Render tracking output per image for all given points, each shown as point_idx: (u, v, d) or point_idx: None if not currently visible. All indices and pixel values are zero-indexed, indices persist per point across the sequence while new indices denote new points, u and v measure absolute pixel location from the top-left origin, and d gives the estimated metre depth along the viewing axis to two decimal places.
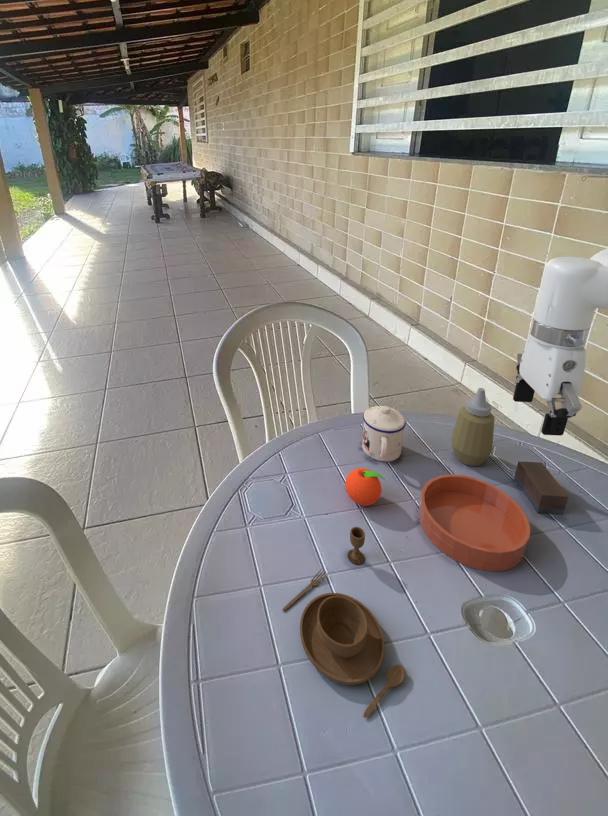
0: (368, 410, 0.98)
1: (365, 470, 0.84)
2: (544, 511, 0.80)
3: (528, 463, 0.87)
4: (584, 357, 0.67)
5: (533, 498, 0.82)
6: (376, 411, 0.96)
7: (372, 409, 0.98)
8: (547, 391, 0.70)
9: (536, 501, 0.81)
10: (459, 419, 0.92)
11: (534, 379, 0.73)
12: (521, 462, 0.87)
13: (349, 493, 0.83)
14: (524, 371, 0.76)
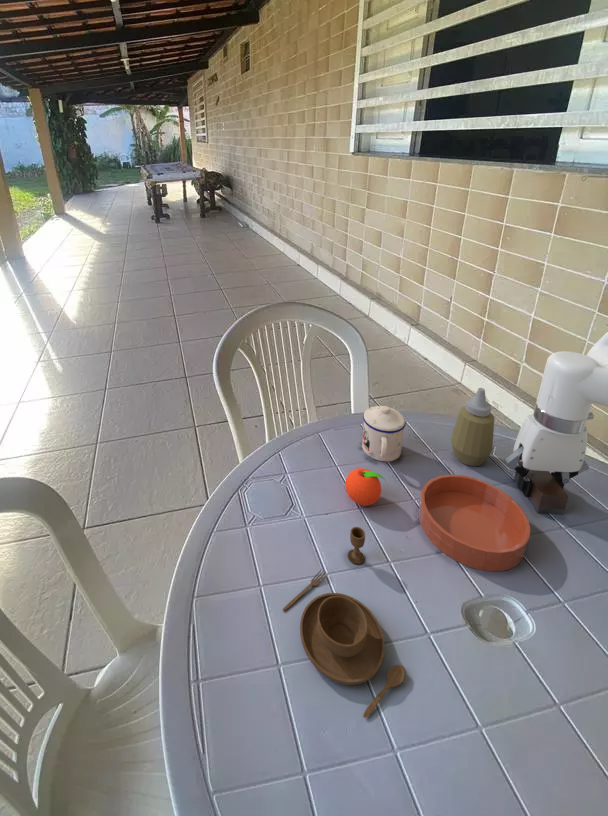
0: (368, 410, 0.98)
1: (365, 470, 0.84)
2: (544, 511, 0.80)
3: None
4: None
5: (533, 498, 0.82)
6: (376, 411, 0.96)
7: (372, 409, 0.98)
8: (580, 464, 0.78)
9: (536, 501, 0.81)
10: (459, 419, 0.92)
11: (560, 464, 0.79)
12: None
13: (349, 493, 0.83)
14: (539, 464, 0.79)
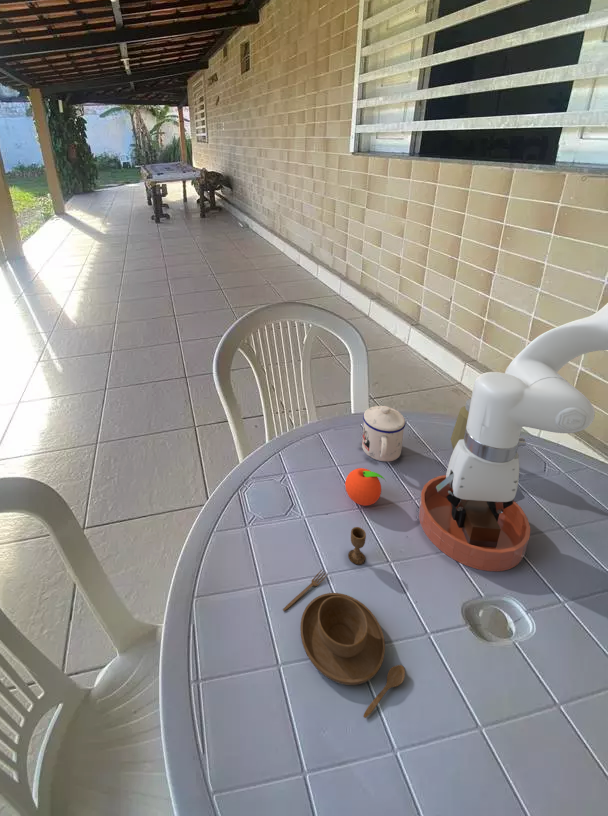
0: (368, 410, 0.98)
1: (365, 470, 0.84)
2: (476, 543, 0.74)
3: None
4: None
5: (466, 528, 0.76)
6: (376, 411, 0.96)
7: (372, 409, 0.98)
8: (513, 494, 0.72)
9: (468, 532, 0.75)
10: (459, 419, 0.92)
11: (492, 493, 0.72)
12: None
13: (349, 493, 0.83)
14: (470, 493, 0.73)
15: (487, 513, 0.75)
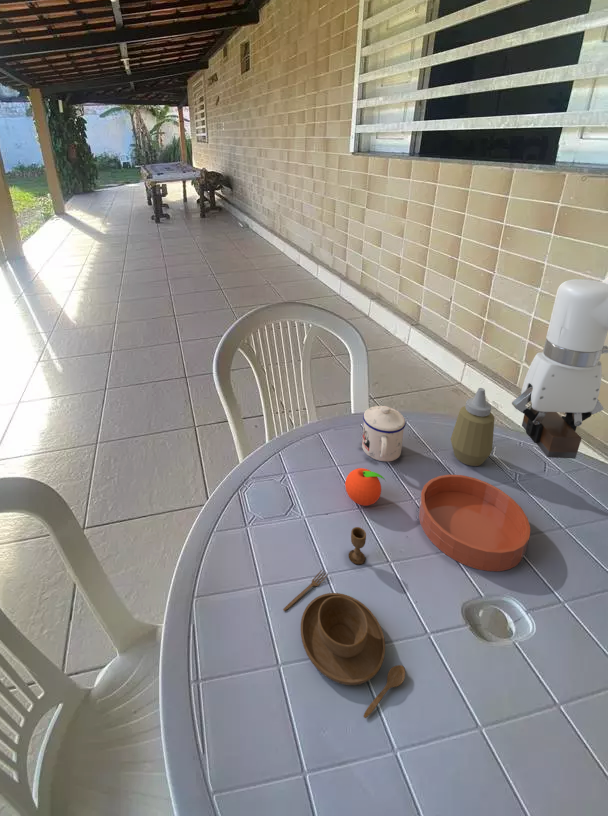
0: (368, 410, 0.98)
1: (365, 470, 0.84)
2: (555, 455, 0.75)
3: None
4: None
5: (543, 442, 0.76)
6: (376, 411, 0.96)
7: (372, 409, 0.98)
8: (594, 403, 0.73)
9: (546, 445, 0.75)
10: (459, 419, 0.92)
11: (572, 403, 0.73)
12: None
13: (349, 493, 0.83)
14: (550, 404, 0.74)
15: (565, 426, 0.76)
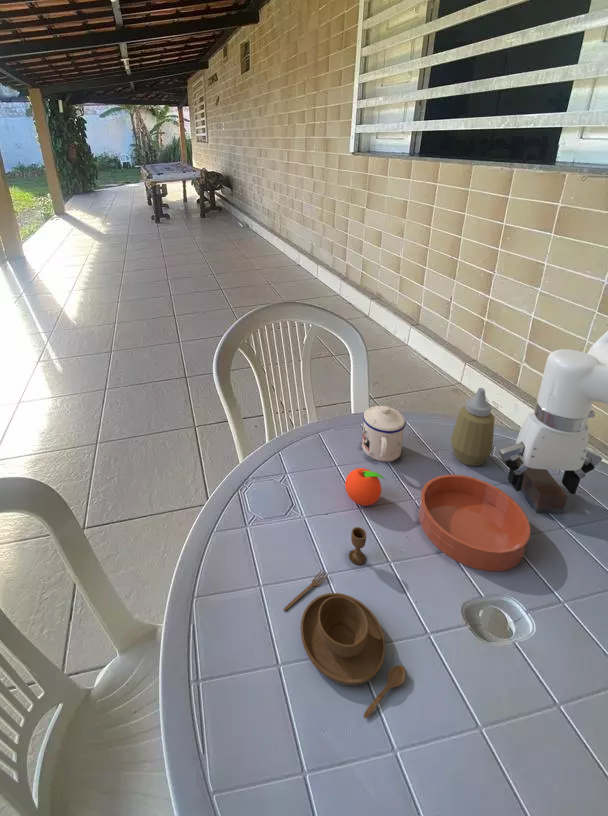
0: (368, 410, 0.98)
1: (365, 470, 0.84)
2: (543, 510, 0.80)
3: None
4: None
5: (532, 497, 0.82)
6: (376, 411, 0.96)
7: (372, 409, 0.98)
8: (582, 463, 0.78)
9: (535, 500, 0.81)
10: (459, 419, 0.92)
11: (561, 462, 0.78)
12: (520, 462, 0.87)
13: (349, 493, 0.83)
14: (541, 462, 0.79)
15: (552, 483, 0.81)
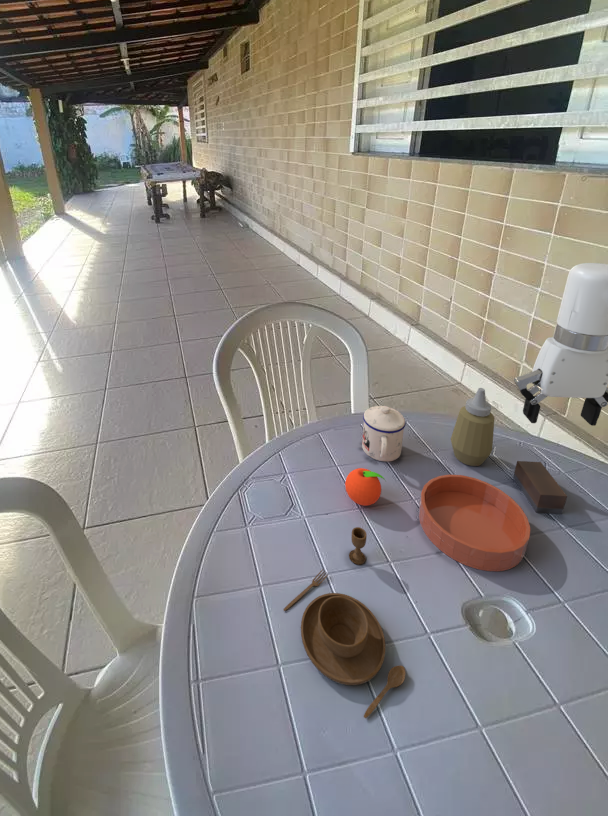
0: (368, 410, 0.98)
1: (365, 470, 0.84)
2: (543, 510, 0.80)
3: (527, 462, 0.87)
4: None
5: (532, 497, 0.82)
6: (376, 411, 0.96)
7: (372, 409, 0.98)
8: (604, 388, 0.72)
9: (535, 500, 0.81)
10: (459, 419, 0.92)
11: (582, 388, 0.73)
12: (520, 462, 0.87)
13: (349, 493, 0.83)
14: (560, 389, 0.73)
15: (552, 483, 0.81)
